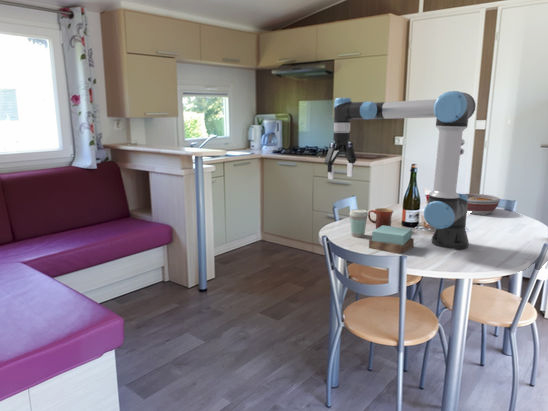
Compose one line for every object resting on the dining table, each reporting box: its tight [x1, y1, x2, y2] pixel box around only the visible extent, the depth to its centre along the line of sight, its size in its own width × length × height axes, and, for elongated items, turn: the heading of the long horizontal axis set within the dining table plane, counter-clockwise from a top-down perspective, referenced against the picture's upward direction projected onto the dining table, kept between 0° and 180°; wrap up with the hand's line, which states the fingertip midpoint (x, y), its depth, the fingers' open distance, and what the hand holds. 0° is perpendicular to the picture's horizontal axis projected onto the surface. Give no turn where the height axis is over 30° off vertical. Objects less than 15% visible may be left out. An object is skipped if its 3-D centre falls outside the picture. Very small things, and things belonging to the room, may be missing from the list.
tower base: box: [368, 237, 415, 255], centre depth 189 cm, size 14×14×4 cm
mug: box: [367, 207, 394, 230], centre depth 217 cm, size 12×9×10 cm
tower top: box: [371, 225, 413, 245], centre depth 188 cm, size 13×13×4 cm
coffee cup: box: [349, 208, 368, 238], centre depth 206 cm, size 8×9×12 cm
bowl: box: [465, 193, 501, 215], centre depth 254 cm, size 23×23×10 cm
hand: (340, 177), depth 208 cm, fingers open, 13 cm apart
